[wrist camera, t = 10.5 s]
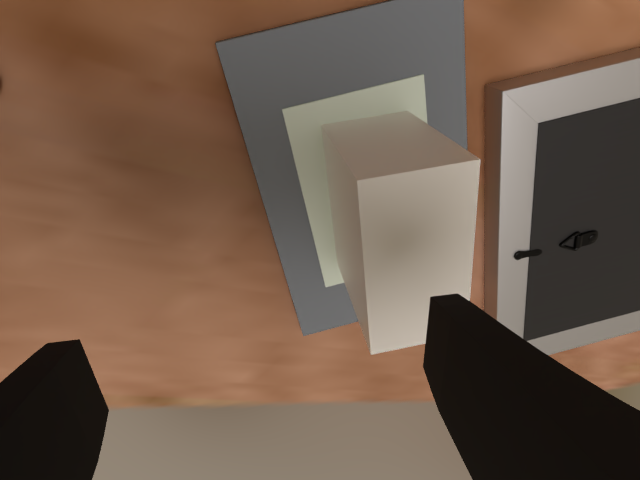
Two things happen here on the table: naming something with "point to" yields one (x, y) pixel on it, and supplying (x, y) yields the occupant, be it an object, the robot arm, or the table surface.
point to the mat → (336, 118)
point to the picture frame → (564, 202)
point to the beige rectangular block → (400, 221)
